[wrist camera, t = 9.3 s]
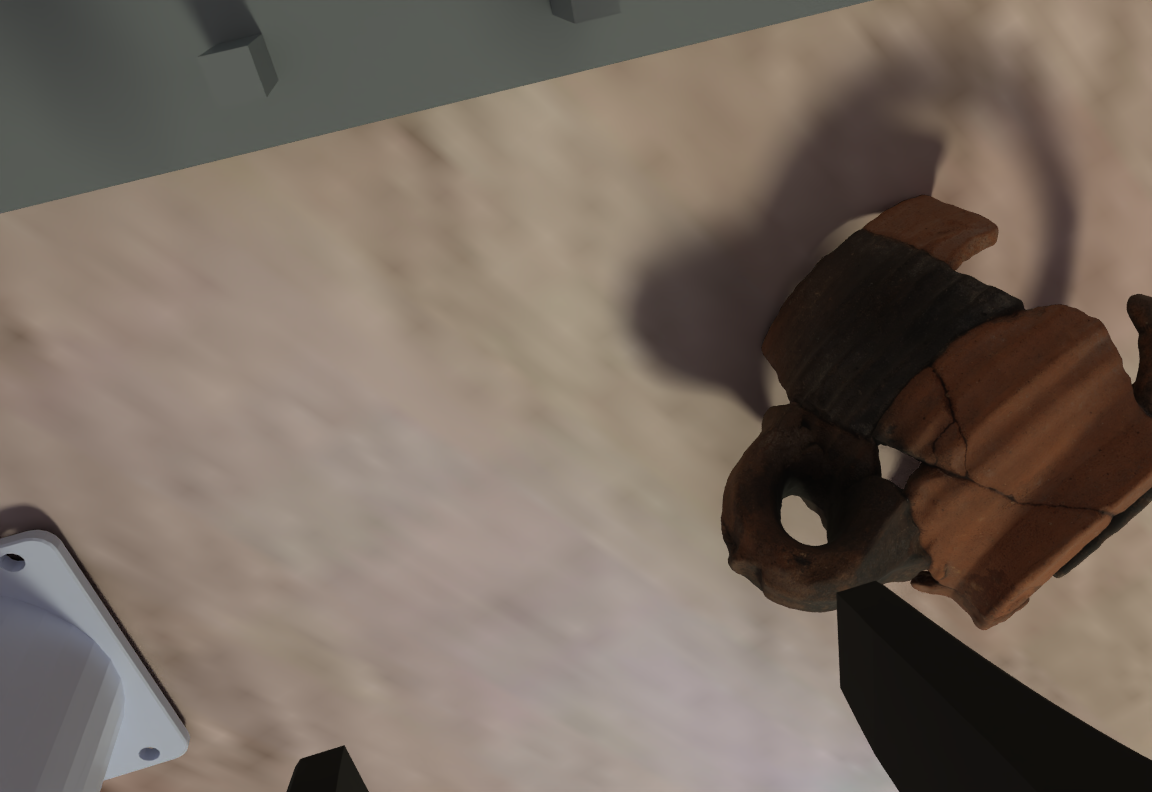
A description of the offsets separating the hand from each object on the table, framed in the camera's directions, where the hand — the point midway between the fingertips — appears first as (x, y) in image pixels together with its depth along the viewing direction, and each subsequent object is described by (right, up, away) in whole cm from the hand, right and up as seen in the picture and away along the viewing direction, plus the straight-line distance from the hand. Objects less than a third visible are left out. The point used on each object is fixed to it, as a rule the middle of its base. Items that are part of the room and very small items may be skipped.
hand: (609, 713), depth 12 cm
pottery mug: (+8, +5, +11) cm, 14 cm away
